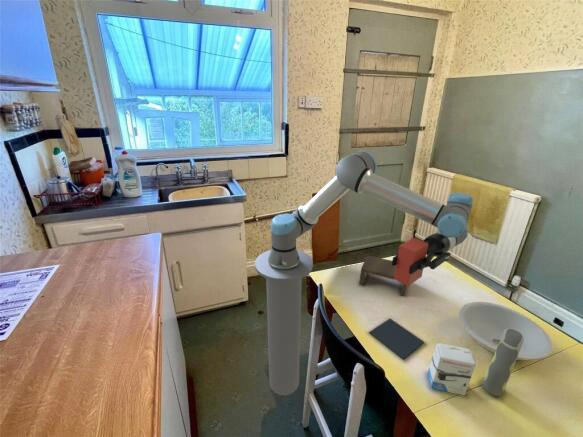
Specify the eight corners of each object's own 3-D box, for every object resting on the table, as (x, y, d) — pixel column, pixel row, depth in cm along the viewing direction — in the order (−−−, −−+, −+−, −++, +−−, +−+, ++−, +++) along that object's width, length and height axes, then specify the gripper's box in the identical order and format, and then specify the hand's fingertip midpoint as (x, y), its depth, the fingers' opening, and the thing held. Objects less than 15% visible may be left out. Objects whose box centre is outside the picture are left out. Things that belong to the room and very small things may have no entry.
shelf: (359, 284, 120) (361, 268, 117) (364, 270, 130) (366, 255, 127) (404, 296, 113) (408, 279, 110) (406, 280, 123) (409, 264, 120)
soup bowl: (448, 310, 105) (452, 296, 103) (523, 324, 99) (529, 309, 97) (465, 364, 84) (470, 347, 82) (562, 385, 78) (571, 368, 76)
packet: (393, 278, 90) (399, 245, 86) (407, 270, 95) (413, 237, 90) (408, 286, 87) (415, 251, 82) (421, 276, 91) (428, 243, 87)
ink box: (430, 389, 77) (439, 357, 72) (427, 373, 81) (435, 342, 77) (465, 396, 75) (477, 364, 70) (460, 379, 79) (470, 348, 75)
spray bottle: (505, 389, 77) (529, 332, 69) (500, 401, 74) (525, 343, 66) (484, 377, 80) (505, 321, 72) (479, 388, 77) (500, 331, 69)
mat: (369, 333, 95) (369, 331, 95) (389, 319, 101) (390, 318, 101) (403, 360, 85) (403, 358, 85) (423, 343, 91) (424, 341, 91)
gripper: (463, 263, 94) (428, 290, 80) (412, 243, 107) (374, 263, 93) (469, 243, 91) (434, 267, 77) (416, 225, 104) (377, 243, 90)
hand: (401, 265), depth 85 cm, fingers closed on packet, 5 cm apart
